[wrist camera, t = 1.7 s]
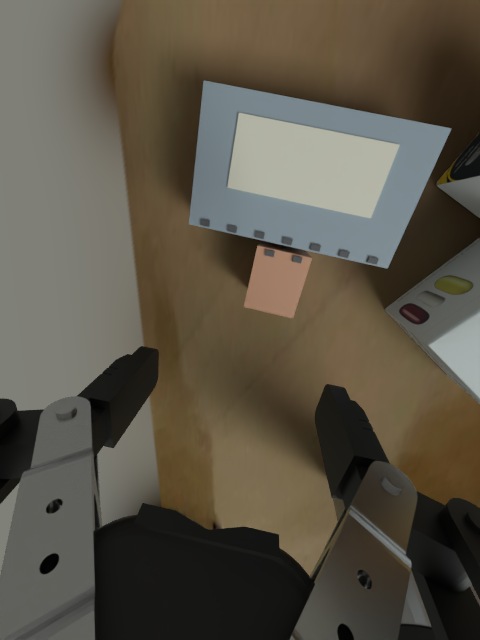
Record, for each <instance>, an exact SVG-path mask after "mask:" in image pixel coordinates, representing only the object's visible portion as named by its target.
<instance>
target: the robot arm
mask: <svg viewBox="0 0 480 640" xmlns="http://www.w3.org/2000/svg"><path fill="white" fill-rule="evenodd" d="M158 359H159V352H158V350H157V349H153V348H148V347H143V346H141V347H140V348H138V349H137V350H136V351H135V352H134V353H133V354H132V355H129V354H127V355H125V356H123V357H121V358H119V359H117V360H116V361H114V362H113V363H112V364H111V365H110V366H109V368H107V369H106V370H105V371H104V372H103V373H102V374H101V375H99V376H98V377H97V378H96V379H95V380H94V381H93V382H92V383H91V384H90V385H88V387H86V388H85V389H84V390H83V391H82V392H81V393H80V394H79V395H78V396H77V397H68V398H63V399H60V400H58V401H56V402H54V403H52V404H50V405H49V406H48V407H47V408H45V409H44V410H26V411H17V407H16V404H15V403H14V402H13V401H12V400H9V399H0V503H1V502H2V501H3V500H4V499H5V498H6V497H7V496H8V494H9V493H10V492H11V491H12V490H13V489H14V488H15V487H16V485H17V484H18V483H19V482H20V485H19V489H18V494H17V499H16V504H15V509H14V514H13V518H12V523H11V527H10V532H9V537H8V542H7V546H6V551H5V556H4V561H3V565H2V570H1V575H0V640H480V606H479V604H478V602H477V600H476V598H475V596H474V594H473V592H472V590H471V588H470V586H471V585H473V587H474V589H475V591H476V593H477V595H478V597H479V599H480V508H479V507H477V506H476V505H474V504H472V503H470V502H468V501H466V500H463V499H460V498H453V499H451V500H449V502H448V503H447V504H446V505H443V504H441V503H439V502H437V501H435V500H433V499H431V498H429V497H427V496H425V495H423V494H421V493H419V492H417V491H416V489H415V487H414V485H413V484H412V482H411V481H410V480H409V478H408V477H407V476H406V475H405V474H404V473H403V472H401V471H400V470H399V469H398V468H396V467H394V466H393V465H391V464H390V463H389V461H388V459H387V457H386V455H385V453H384V451H383V449H382V447H381V445H380V443H379V441H378V439H377V436H376V434H375V432H373V428H372V426H371V424H370V423H369V420H368V418H367V416H366V414H365V412H364V410H363V409H362V408H361V407H360V406H359V405H358V404H357V403H356V402H355V401H352V400H350V398H349V396H348V394H347V391H346V389H345V388H344V387H339V386H334V385H329V384H327V385H326V386H325V388H324V390H323V393H322V395H321V398H320V400H319V403H318V406H317V408H316V412H315V424H316V429H317V433H318V438H319V442H320V447H321V451H322V456H323V460H324V465H325V469H326V474H327V479H328V483H329V488H330V492H331V497H332V498H333V501H334V506H335V511H336V516H337V521H338V522H337V524H336V526H335V528H334V530H333V532H332V534H331V536H330V538H329V540H328V542H327V544H326V546H325V548H324V550H323V552H322V554H321V556H320V558H319V560H318V562H317V564H316V566H315V567H314V569H313V571H312V573H311V575H310V577H309V575H308V574H307V573H306V571H305V570H304V569H303V568H302V567H301V565H300V564H299V563H298V562H297V561H296V560H294V559H293V558H292V557H291V556H290V555H289V554H287V553H286V552H285V551H283V550H282V549H280V548H279V535H278V534H274V533H270V532H265V531H261V530H257V529H253V528H248V527H236V528H225V529H214V530H208V529H205V528H203V527H202V526H200V525H198V524H197V523H195V522H193V521H192V520H190V519H188V518H187V517H185V516H183V515H182V514H180V513H179V512H177V511H175V510H170V509H166V508H162V507H157V506H153V505H148V504H144V503H143V504H142V506H141V508H140V510H139V513H138V515H132V516H128V517H123V518H120V519H118V520H115V521H112V522H110V523H108V524H106V525H104V526H103V527H102V518H101V508H100V492H99V475H98V457H97V454H98V452H99V451H100V450H101V448H102V447H103V446H106V447H111V448H114V447H115V445H116V444H117V442H118V441H119V439H120V438H121V436H122V435H123V434H124V432H125V431H126V429H127V428H128V426H129V425H130V423H131V422H132V420H133V419H134V417H135V416H136V414H137V413H138V411H139V410H140V408H141V407H142V405H143V404H144V403H145V401H146V400H147V398H148V397H149V395H150V394H151V392H152V391H153V389H154V388H155V386H156V383H157V380H158Z"/></svg>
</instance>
